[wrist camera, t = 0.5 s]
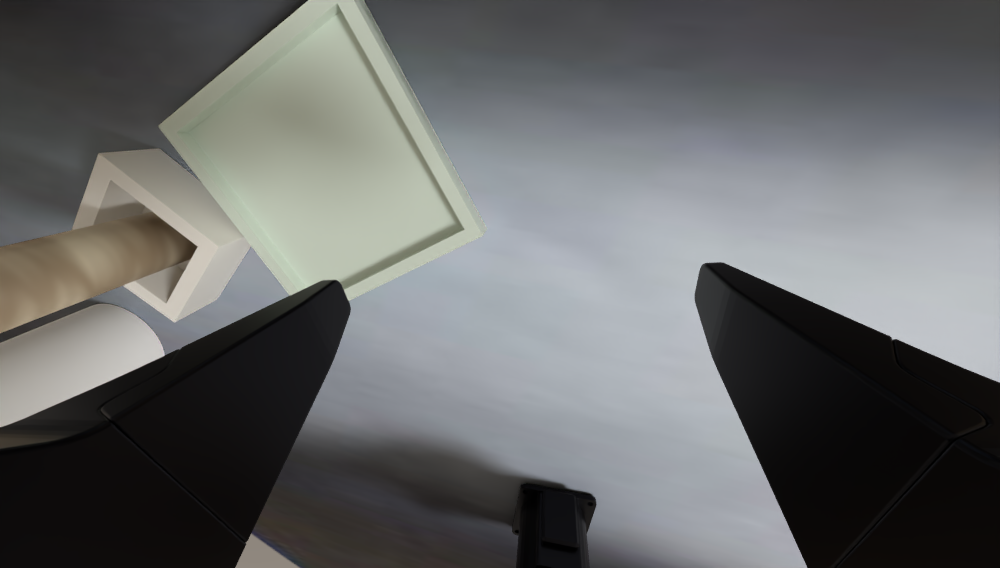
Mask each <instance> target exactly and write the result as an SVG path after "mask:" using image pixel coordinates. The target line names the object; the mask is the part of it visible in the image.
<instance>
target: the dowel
mask: <svg viewBox="0 0 1000 568" xmlns="http://www.w3.org/2000/svg"><path fill="white" fill-rule="evenodd" d="M197 247H198V246H196V245H195V244H194V243H192V242H191V241H190V240H189V239H187V238H186V237H185V236H183V235H182V234H181V233H179V232H178V231H177V230H176V229H174V228H173V227H172V226H170V225H169V224H168V223H166V222H165V221H164V220H163V219H161V218H160V217H159V216H157V215H156V214H155V213H153V212H148V213H144V214H140V215H135V216H131V217H127V218H122V219H118V220H114V221H110V222H105V223H101V224H97V225H92V226H88V227H84V228H80V229H75V230H71V231H67V232H62V233H58V234H54V235H49V236H45V237H41V238H37V239H32V240H28V241H24V242H19V243H15V244H11V245H6V246H2V247H0V333H2V332H5V331H7V330H10V329H12V328H15V327H17V326H20V325H23V324H25V323H28V322H30V321H33V320H35V319H38V318H41V317H43V316H46V315H48V314H51V313H53V312H56V311H59V310H61V309H64V308H66V307H69V306H71V305H74V304H77V303H79V302H82V301H84V300H87V299H89V298H92V297H94V296H97V295H100V294H102V293H105V292H107V291H110V290H112V289H115V288H118V287H120V286H123V285H125V284H128V283H130V282H133V281H136V280H138V279H141V278H143V277H146V276H148V275H151V274H154V273H156V272H159V271H161V270H164V269H166V268H169V267H172V266H174V265H177V264H179V263H182V262H184V261H187V260H189V259H191V258H192V256H193V254H194V253H195V251H196V249H197Z"/></svg>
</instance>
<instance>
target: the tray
mask: <svg viewBox="0 0 1000 568" xmlns="http://www.w3.org/2000/svg"><path fill="white" fill-rule="evenodd" d="M158 127H159V128H160V130H161V131H162V132H163V134H164V135H165V136H166V137H167V139H168V140H169V141H170V143H171V144H172V145H173V146H174V148H175V149H176V150H177V152H178V153H179V154H180V155H181V157H182V158H183V159H184V161H185V162H186V163H187V164H188V166H189V167H190V168H191V169H192V171H193V172H194V173H195V175H196V176H197V177H198V178H199V180H200V181H201V182H202V184H203V185H204V186H205V187H206V189H207V190H208V191H209V193H210V194H211V195H212V196H213V198H214V199H215V200H216V202H217V203H218V204H219V205H220V207H221V208H222V209H223V211H224V212H225V213H226V214H227V216H228V217H229V218H230V219H231V221H232V222H233V223H234V225H235V226H236V227H237V228H238V230H239V231H240V232H241V234H242V235H243V236H244V237H245V239H246V240H247V241H248V243H249V244H250V245H251V246H252V248H253V249H254V250H255V252H256V253H257V254H258V255H259V257H260V258H261V259H262V261H263V262H264V263H265V264H266V266H267V267H268V268H269V269H270V271H271V272H272V273H273V275H274V276H275V277H276V278H277V280H278V281H279V282H280V284H281V285H282V286H283V287H284V289H285V290H286V291H287V293H288V294H289V295H292V294H295V293H297V292H299V291H301V290H303V289H305V288H307V287H309V286H311V285H313V284H315V283H317V282H320V281H322V280H338V281H339V282H340V283H341V285H342V287H343V289H344V292H345V294H346V296H347V299H348V301H349V300H352V299H354V298H356V297H358V296H360V295H362V294H364V293H366V292H368V291H370V290H372V289H374V288H376V287H378V286H380V285H383V284H385V283H387V282H389V281H391V280H393V279H395V278H397V277H399V276H401V275H403V274H405V273H407V272H409V271H411V270H413V269H416V268H418V267H420V266H422V265H424V264H426V263H428V262H430V261H432V260H434V259H436V258H438V257H440V256H442V255H444V254H446V253H449V252H451V251H453V250H455V249H457V248H459V247H461V246H463V245H465V244H467V243H469V242H471V241H473V240H475V239H477V238H480V237H482V236H483V235H484V233H485V231H486V230H487V227H486V225H485V223H484V222H483V220H482V218H481V216H480V214H479V212H478V210H477V209H476V207H475V205H474V203H473V201H472V199H471V197H470V196H469V194H468V192H467V190H466V188H465V186H464V185H463V183H462V181H461V179H460V177H459V175H458V173H457V172H456V170H455V168H454V166H453V164H452V162H451V160H450V159H449V157H448V155H447V153H446V151H445V149H444V147H443V146H442V144H441V142H440V140H439V138H438V136H437V135H436V133H435V131H434V129H433V127H432V125H431V123H430V122H429V120H428V118H427V116H426V114H425V112H424V110H423V109H422V107H421V105H420V103H419V101H418V99H417V97H416V96H415V94H414V92H413V90H412V88H411V86H410V85H409V83H408V81H407V79H406V77H405V75H404V73H403V72H402V70H401V68H400V66H399V64H398V62H397V60H396V59H395V57H394V55H393V53H392V51H391V49H390V47H389V46H388V44H387V42H386V40H385V38H384V36H383V35H382V33H381V31H380V29H379V27H378V25H377V23H376V22H375V20H374V18H373V16H372V14H371V12H370V10H369V9H368V7H367V5H366V3H365V1H364V0H308V1H307V2H306V3H305V4H303V5H302V6H301V7H300V8H299V9H297V10H296V11H295V12H294V13H293V14H291V15H290V16H289V17H288V18H287V19H285V20H284V21H283V22H282V23H281V24H279V25H278V26H277V27H276V28H275V29H273V30H272V31H271V32H270V33H269V34H267V35H266V36H265V37H264V38H263V39H261V40H260V41H259V42H258V43H257V44H256V45H254V46H253V47H252V48H251V49H250V50H248V51H247V52H246V53H245V54H244V55H242V56H241V57H240V58H239V59H238V60H236V61H235V62H234V63H233V64H232V65H230V66H229V67H228V68H227V69H226V70H224V71H223V72H222V73H221V74H220V75H218V76H217V77H216V78H215V79H214V80H212V81H211V82H210V83H209V84H208V85H206V86H205V87H204V88H203V89H202V90H200V91H199V92H198V93H197V94H196V95H194V96H193V97H192V98H191V99H190V100H188V101H187V102H186V103H185V104H184V105H182V106H181V107H180V108H179V109H178V110H176V111H175V112H174V113H173V114H172V115H170V116H169V117H168V118H167V119H166V120H164V121H163V122H162V123H161V124H160V125H158Z"/></svg>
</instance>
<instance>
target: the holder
mask: <svg viewBox="0 0 1000 568" xmlns="http://www.w3.org/2000/svg"><path fill="white" fill-rule="evenodd" d="M148 212H153V213H155V214H156V215H157V216H159V217H160V218H161V219H163V220H164V221H165V222H166V223H168V224H169V225H170V226H172V227H173V228H174V229H176V230H177V231H178V232H179V233H181V234H182V235H183V236H185V237H186V238H187V239H189V240H190V241H191V242H192V243H194V244H195V245H196V246H198V247H197V249H196V251H195V253H194V254H193V256H192V258H191V259H189V260H187V261H184V262H182V263H179V264H177V265H174V266H172V267H169V268H166V269H164V270H161V271H159V272H156V273H154V274H151V275H148V276H146V277H143V278H141V279H138V280H136V281H133V282H130V283H128V284H125V285H123V286H124V287H126V288H127V289H128V290H130V291H131V292H133V293H134V294H135V295H137V296H138V297H140V298H141V299H142V300H144V301H145V302H147V303H148V304H149V305H151V306H152V307H154V308H155V309H156V310H158V311H159V312H161V313H162V314H163V315H165V316H166V317H168V318H169V319H170V320H172V321H173V322H177V321H178V320H180V319H182V318H184V317H186V316H188V315H189V314H191V313H193V312H195V311H197V310H199V309H200V308H202V307H204V306H206V305H208V304H210V303H212V302H213V301H215V300H217V299H218V298H219V296H220V294H221V293H222V291H223V290H224V288H225V287H226V285H227V283H228V282H229V280H230V279H231V277H232V276H233V274H234V272H235V271H236V269H237V268H238V266H239V265H240V263H241V261H242V260H243V258H244V257H245V255H246V253H247V252H248V250H249V249H250V247H251V245H250V244H249V243H248V241H247V240H246V239H245V237H244V236H243V235H242V234H241V232H240V231H239V230H238V228H237V227H236V226H235V225H234V223H233V222H232V221H231V219H230V218H229V217H228V216H227V214H226V213H225V212H224V211H223V209H222V208H221V207H220V205H219V204H218V203H217V202H216V200H215V199H214V198H213V196H212V195H211V194H210V193H209V191H208V190H207V189H206V187H205V186H204V185H203V184H202V182H200V181H199V180H198V179H197V178H195V177H194V176H193V175H192V174H191V173H189V172H188V171H187V170H186V169H184V168H183V167H182V166H181V165H179V164H178V163H177V162H176V161H174V160H173V159H172V158H171V157H170V156H168V155H167V154H166V153H165V152H163V151H162V150H161V149H160V148H159V149H146V150H132V151H119V152H106V153H98V156H97V159H96V162H95V165H94V168H93V170H92V173H91V176H90V179H89V182H88V185H87V188H86V190H85V193H84V196H83V199H82V202H81V205H80V208H79V210H78V213H77V216H76V219H75V222H74V225H73V228H72V230H75V229H80V228H84V227H88V226H92V225H97V224H101V223H105V222H110V221H114V220H118V219H122V218H127V217H131V216H135V215H140V214H144V213H148Z"/></svg>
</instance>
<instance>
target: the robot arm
mask: <svg viewBox="0 0 1000 568" xmlns="http://www.w3.org/2000/svg"><path fill="white" fill-rule="evenodd" d="M695 303H696V307H697V310H698V313H699V316H700V320H701V323H702V326H703V330H704V333H705V336H706V339H707V343H708V346H709V349H710V352H711V355H712V358H713V360H714V363H715V365H716V367H717V370H718V372H719V374H720V376H721V378H722V381H723V383H724V385H725V387H726V389H727V392H728V394H729V396H730V398H731V400H732V403H733V405H734V407H735V409H736V411H737V414H738V416H739V418H740V420H741V422H742V425H743V427H744V429H745V431H746V433H747V436H748V438H749V440H750V442H751V444H752V447H753V449H754V451H755V453H756V455H757V458H758V460H759V462H760V464H761V466H762V469H763V471H764V473H765V475H766V477H767V480H768V482H769V484H770V486H771V488H772V491H773V493H774V495H775V497H776V499H777V502H778V504H779V506H780V508H781V510H782V513H783V515H784V517H785V519H786V521H787V524H788V526H789V528H790V530H791V532H792V535H793V537H794V539H795V541H796V543H797V546H798V548H799V550H800V552H801V554H802V557H803V559H804V561H805V563H806V565H807V568H1000V383H999V382H996V381H994V380H992V379H989V378H987V377H984V376H982V375H979V374H977V373H974V372H972V371H969V370H967V369H964V368H962V367H959V366H957V365H955V364H952V363H950V362H948V361H945V360H943V359H941V358H938V357H936V356H934V355H931V354H929V353H927V352H924V351H922V350H920V349H917V348H915V347H913V346H911V345H908V344H906V343H904V342H902V341H899V340H897V339H894V340H892V338H891V337H890V336H888V335H886V334H883V333H881V332H879V331H877V330H874V329H872V328H870V327H868V326H865V325H863V324H861V323H858V322H856V321H854V320H852V319H849V318H847V317H845V316H843V315H840V314H838V313H836V312H834V311H831V310H829V309H827V308H825V307H822V306H820V305H818V304H815V303H813V302H811V301H809V300H806V299H804V298H802V297H800V296H797V295H795V294H793V293H791V292H788V291H786V290H784V289H782V288H779V287H777V286H775V285H773V284H770V283H768V282H766V281H764V280H761V279H759V278H757V277H754V276H752V275H750V274H748V273H745V272H743V271H741V270H739V269H736V268H734V267H732V266H730V265H727V264H725V263H721V262H718V263H705V264H703V265H702V266H701V268H700V272H699V276H698V281H697V286H696V291H695ZM350 310H351V308H350V303H349V301H348V299H347V296H346V294H345V292H344V289H343V287H342V285H341V283H340V282H339V281H338V280H322V281H320V282H317V283H315V284H313V285H311V286H309V287H307V288H305V289H303V290H301V291H299V292H297V293H295V294H292V295H290V296H288V297H286V298H284V299H282V300H280V301H278V302H276V303H274V304H272V305H269V306H267V307H265V308H263V309H261V310H259V311H257V312H255V313H253V314H251V315H249V316H246V317H244V318H242V319H240V320H238V321H236V322H234V323H232V324H230V325H228V326H226V327H224V328H221V329H219V330H217V331H215V332H213V333H211V334H209V335H207V336H205V337H203V338H201V339H198V340H196V341H194V342H192V343H190V344H188V345H186V346H184V347H182V348H181V349H180V350H179V349H178V350H175V351H173V352H171V353H169V354H167V355H165V356H163V357H161V358H159V359H156V360H154V361H152V362H150V363H148V364H146V365H144V366H141V367H139V368H137V369H135V370H133V371H131V372H128V373H126V374H124V375H122V376H120V377H117V378H115V379H113V380H111V381H108V382H106V383H104V384H102V385H99V386H97V387H95V388H93V389H90V390H88V391H86V392H83V393H81V394H79V395H77V396H74V397H72V398H70V399H67V400H65V401H63V402H61V403H58V404H56V405H54V406H51V407H49V408H47V409H45V410H42V411H40V412H38V413H35V414H33V415H31V416H29V417H26V418H24V419H21V420H19V421H16V422H14V423H11V424H9V425H6V426H3V427H0V568H235V567H236V565H237V562H238V560H239V558H240V556H241V554H242V552H243V550H244V548H245V545H246V543H245V542H247V541H248V539H249V537H250V534H251V533H252V530H253V528H254V526H255V524H256V522H257V520H258V518H259V516H260V514H261V512H262V509H263V507H264V505H265V503H266V501H267V499H268V497H269V495H270V493H271V491H272V489H273V486H274V484H275V482H276V480H277V478H278V476H279V474H280V472H281V470H282V468H283V466H284V463H285V461H286V459H287V457H288V455H289V453H290V451H291V449H292V447H293V445H294V442H295V440H296V438H297V436H298V434H299V432H300V430H301V428H302V426H303V424H304V422H305V419H306V417H307V415H308V413H309V411H310V409H311V407H312V405H313V403H314V401H315V399H316V396H317V394H318V392H319V390H320V388H321V386H322V384H323V382H324V380H325V378H326V375H327V373H328V371H329V369H330V367H331V365H332V362H333V360H334V358H335V355H336V352H337V349H338V347H339V344H340V341H341V338H342V335H343V332H344V329H345V327H346V324H347V321H348V318H349V315H350ZM595 508H596V499H595V497H593V496H589V495H584V494H579V493H573V492H568V491H563V490H557V489H552V488H547V487H541V486H536V485H531V484H522V485H521V486H520V490H519V496H518V501H517V506H516V511H515V516H514V521H513V527H512V532H513V534H515V535H519V537H518V550H517V563H516V568H590V567H589V555H588V544H587V532H588V529H589V526H590V523H591V520H592V517H593V514H594V511H595Z"/></svg>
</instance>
